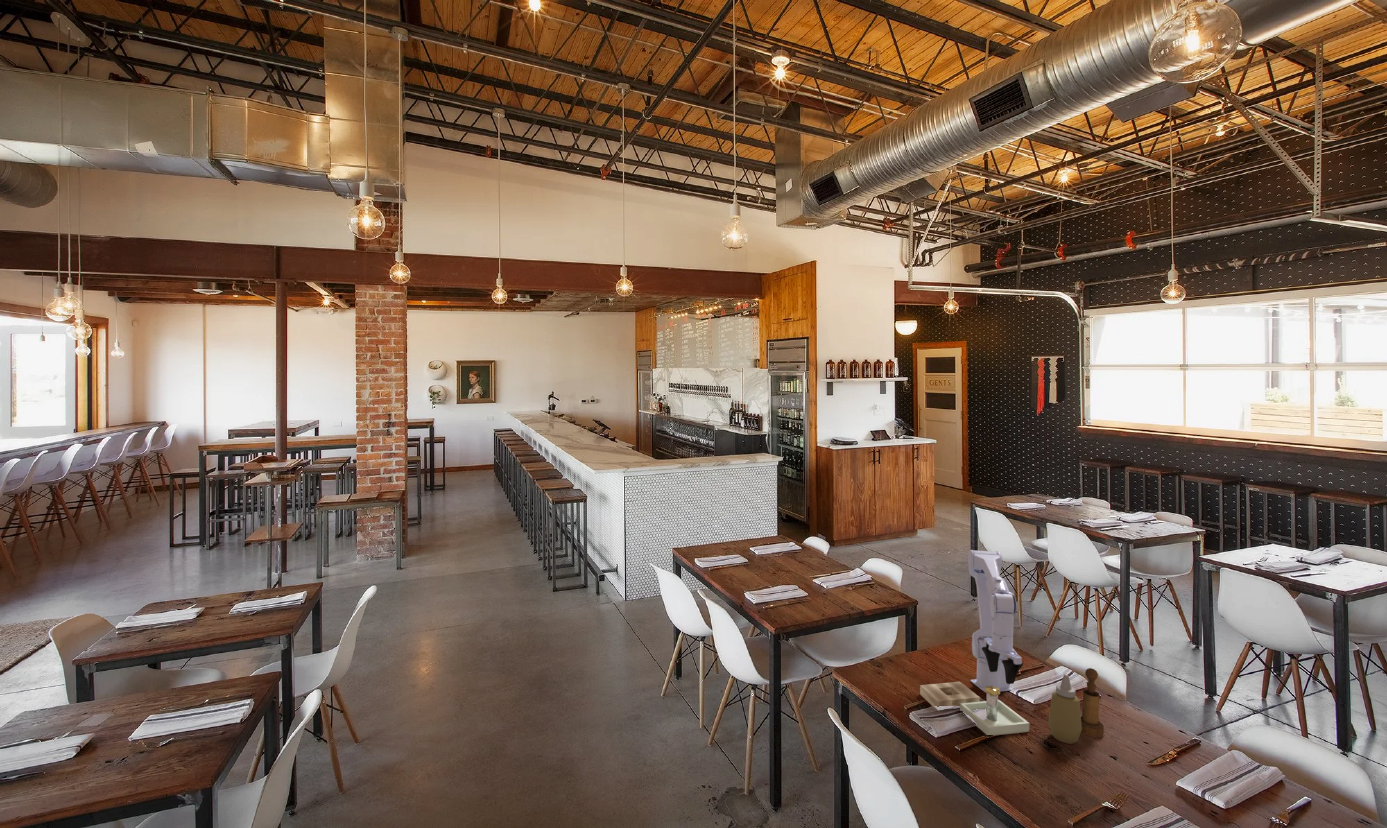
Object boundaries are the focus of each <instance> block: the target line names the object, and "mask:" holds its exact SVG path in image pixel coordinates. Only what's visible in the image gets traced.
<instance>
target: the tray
mask: <svg viewBox="0 0 1387 828" xmlns="http://www.w3.org/2000/svg"><path fill="white" fill-rule="evenodd" d="M986 705H987V700H983V701H980V702H971V703H961V704H960V709H961V710H962V711H963V712H964V713H966V714H967V715H969V716H970V717H971V718H972V719H973V720H974V721H975V722H976V723H977V725H975V726H976V727H977V728H978V729H979V730H981V731H982V732H983V733H984V734H985V735H993V736H1000V735H1011V734H1019V733H1020V734H1021V733H1028V732H1030V722H1028V720H1026V719H1025V718H1024V717H1022V716H1021V715H1019V714H1018V713H1017V712H1016V711H1014V710H1013V709H1011V708H1010V707H1009V706H1008V705H1006V704H1005V703H1004V702H1003V701H1001V699H998V720H997V721H991V720H989V719H985V720H984V721H983V720H982V719H981V718H979V717H978V716H977V715H976V714H975V713H974V712H972V711H974V710H976V709H985V708H986ZM960 709H959V710H960Z"/></svg>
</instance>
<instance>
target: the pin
mask: <svg viewBox="0 0 1387 828" xmlns="http://www.w3.org/2000/svg"><path fill="white" fill-rule="evenodd" d="M986 692H987V693H986ZM984 693H986V701H987V705H986V718H987V719H989V720H991V721H997V720H998V700H999V695H1000V694H1001V691H1000V689H999V688H997V687H994V686H986V687H985V692H984Z"/></svg>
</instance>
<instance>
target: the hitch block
mask: <svg viewBox="0 0 1387 828" xmlns="http://www.w3.org/2000/svg"><path fill="white" fill-rule="evenodd" d="M919 688H920V689H919V695H920V696H921V697H922V698H923V699H924V700H926V701H927V703H929V704H930V705H931V706H932V707H933V706H937V707H939V706H960V704H961V703H971V702H981V700H980V699H981V697H980V696H979V695H977V694H976V693H975V692H974V691H972V690H971V689H970V688H969V687H968V686H967V685H965V684H964V683H963V682H961V681H954V682H953V681H952V682H942V683H929V684H920V685H919Z"/></svg>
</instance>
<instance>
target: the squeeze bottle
mask: <svg viewBox="0 0 1387 828" xmlns="http://www.w3.org/2000/svg"><path fill="white" fill-rule="evenodd" d="M1076 693H1077V692H1076V689H1075V688H1074V687H1073V686H1071V681H1070V676H1069V675H1068V674H1063V676H1062V680H1061V683H1059V684H1057V685H1055V691H1054V692H1052V694H1051V699H1050V700H1051V701H1050V705H1049V706H1050V707H1049V715H1048V720H1047V723H1048V725H1049V729H1050V732H1051V735H1052V737H1053V738H1054V739H1056V740H1057V741H1059V742H1061V743H1065V744H1070V745H1071V744H1075V743H1077V741H1078V740H1079V738H1080V735H1081V734H1082V732H1081V731H1082V725H1081V716H1082V713H1081V703H1080V702H1081V701H1080V699H1079V698H1078V697H1077V695H1076Z"/></svg>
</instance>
